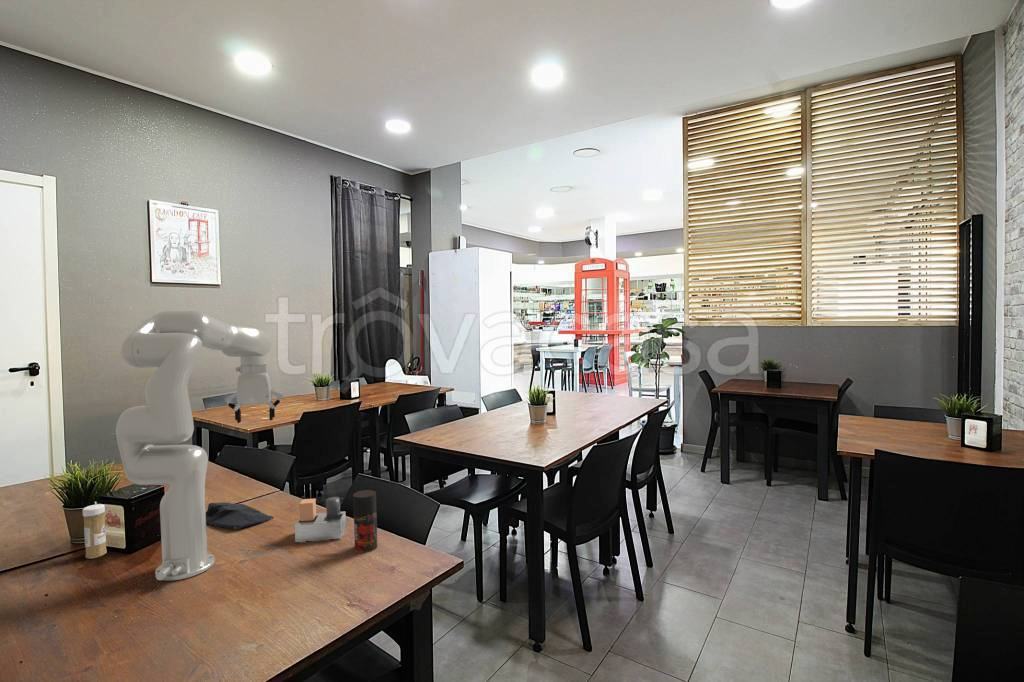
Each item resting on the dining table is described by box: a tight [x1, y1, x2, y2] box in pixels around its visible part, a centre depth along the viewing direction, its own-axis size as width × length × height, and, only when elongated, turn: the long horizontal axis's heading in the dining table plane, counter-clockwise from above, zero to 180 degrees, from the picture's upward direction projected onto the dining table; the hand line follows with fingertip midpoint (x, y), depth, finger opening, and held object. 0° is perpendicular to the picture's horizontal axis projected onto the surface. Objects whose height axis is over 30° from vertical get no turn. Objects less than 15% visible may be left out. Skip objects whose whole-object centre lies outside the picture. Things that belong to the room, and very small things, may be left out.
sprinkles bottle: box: [82, 503, 108, 560], centre depth 134 cm, size 5×5×13 cm
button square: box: [299, 497, 317, 521], centre depth 144 cm, size 4×4×5 cm
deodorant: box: [352, 489, 378, 554], centre depth 136 cm, size 6×6×15 cm
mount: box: [294, 511, 347, 543], centre depth 144 cm, size 8×12×6 cm, turn 99°
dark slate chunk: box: [205, 502, 274, 530], centre depth 157 cm, size 15×22×5 cm
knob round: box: [325, 496, 341, 519], centre depth 145 cm, size 4×4×5 cm
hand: (255, 421), depth 166 cm, fingers open, 9 cm apart
